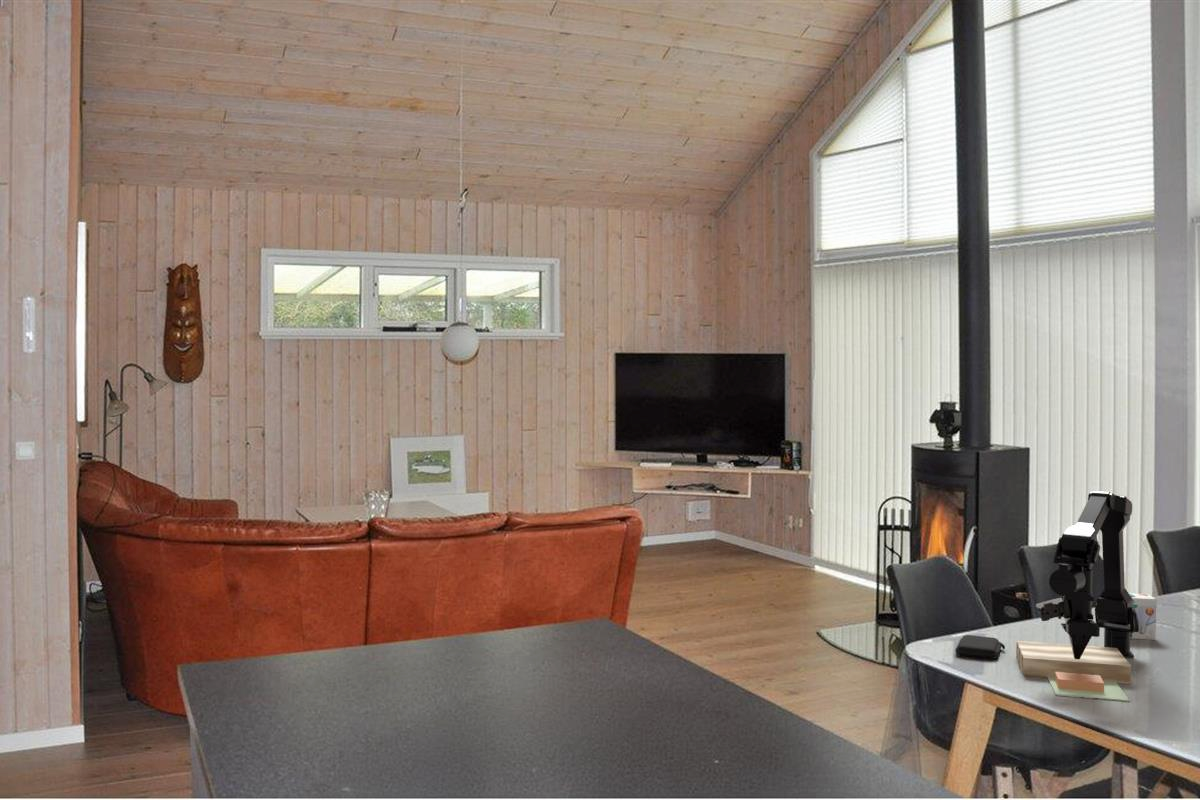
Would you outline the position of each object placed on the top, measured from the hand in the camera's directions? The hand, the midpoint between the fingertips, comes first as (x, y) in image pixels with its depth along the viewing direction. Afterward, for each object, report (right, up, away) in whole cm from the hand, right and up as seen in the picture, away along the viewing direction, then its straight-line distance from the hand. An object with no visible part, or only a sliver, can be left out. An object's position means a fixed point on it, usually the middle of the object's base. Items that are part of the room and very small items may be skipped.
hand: (1076, 658), depth 228 cm
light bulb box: (+33, -5, +41) cm, 53 cm away
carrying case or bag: (-13, -5, +23) cm, 27 cm away
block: (-2, -3, -6) cm, 7 cm away
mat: (-1, -5, -6) cm, 8 cm away
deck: (+3, -5, +8) cm, 10 cm away
